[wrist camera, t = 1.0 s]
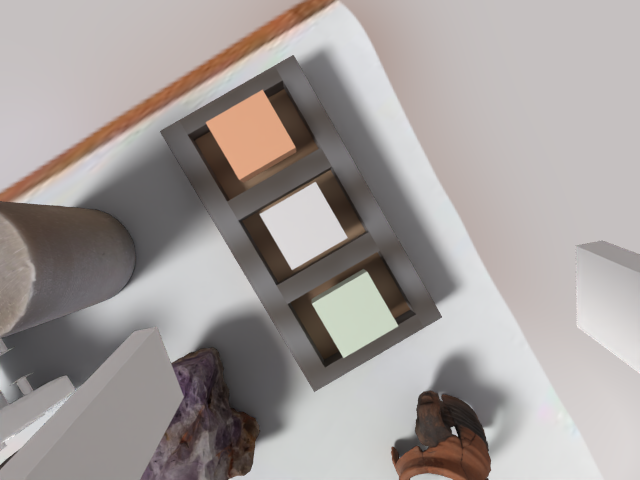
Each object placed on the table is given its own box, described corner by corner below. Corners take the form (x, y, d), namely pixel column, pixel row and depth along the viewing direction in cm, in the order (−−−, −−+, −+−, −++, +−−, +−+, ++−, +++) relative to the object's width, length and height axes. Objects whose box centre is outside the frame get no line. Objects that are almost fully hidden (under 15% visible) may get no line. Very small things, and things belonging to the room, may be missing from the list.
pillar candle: (32, 216, 36) (-169, 208, 21) (129, 202, 36) (0, 183, 21) (49, 311, 36) (-136, 371, 21) (145, 296, 36) (30, 345, 21)
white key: (345, 237, 33) (347, 237, 31) (293, 267, 33) (292, 270, 31) (315, 184, 33) (315, 181, 31) (262, 215, 33) (259, 214, 31)
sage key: (393, 320, 33) (398, 326, 31) (341, 350, 33) (343, 358, 31) (363, 268, 33) (367, 271, 31) (311, 299, 33) (311, 303, 31)
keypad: (429, 308, 37) (442, 317, 34) (313, 376, 37) (314, 391, 33) (294, 71, 36) (293, 54, 32) (174, 140, 36) (159, 131, 32)
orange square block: (296, 152, 32) (295, 147, 30) (243, 182, 32) (239, 179, 30) (265, 98, 32) (262, 89, 30) (211, 128, 32) (205, 122, 30)
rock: (236, 335, 38) (140, 367, 37) (211, 351, 29) (85, 392, 29) (269, 451, 37) (170, 485, 36) (254, 505, 28) (122, 551, 27)
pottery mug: (495, 444, 38) (508, 530, 31) (410, 445, 42) (405, 522, 35) (464, 359, 35) (470, 435, 28) (374, 369, 39) (360, 438, 32)
